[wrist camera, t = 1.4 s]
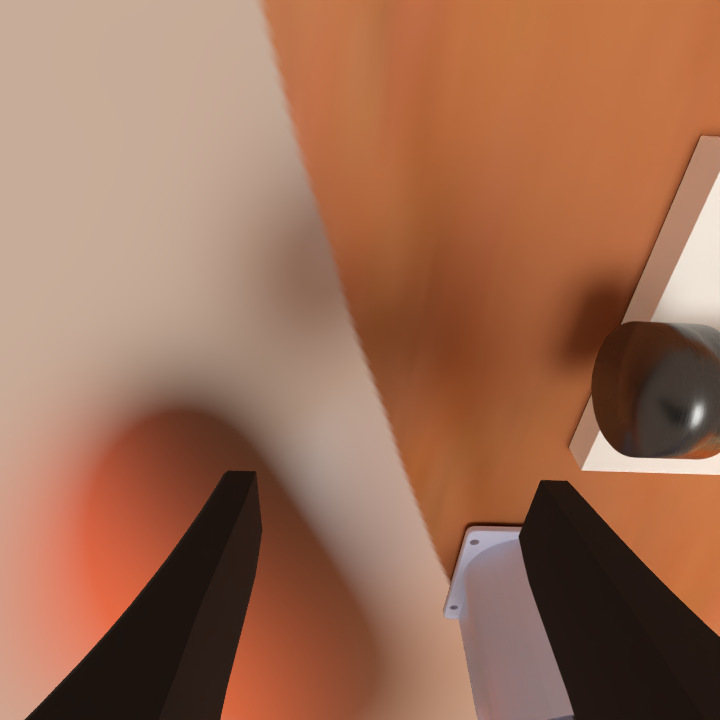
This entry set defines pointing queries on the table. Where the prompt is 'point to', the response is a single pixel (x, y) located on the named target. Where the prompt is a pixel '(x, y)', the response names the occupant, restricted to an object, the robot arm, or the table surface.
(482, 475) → the table surface
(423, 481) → the table surface
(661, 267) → the shaft stand
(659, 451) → the shaft
